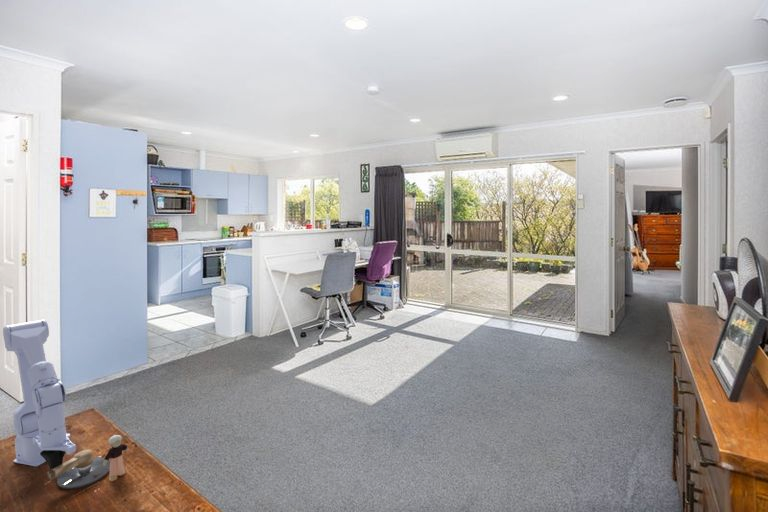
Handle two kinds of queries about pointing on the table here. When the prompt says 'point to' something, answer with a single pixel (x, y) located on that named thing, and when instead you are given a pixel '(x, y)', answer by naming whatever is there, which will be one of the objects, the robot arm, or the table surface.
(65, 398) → the robot arm
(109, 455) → the grandmother figurine
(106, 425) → the table surface
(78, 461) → the wooden scoop
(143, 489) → the table surface
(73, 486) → the post base
